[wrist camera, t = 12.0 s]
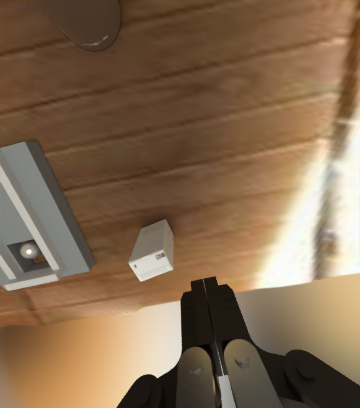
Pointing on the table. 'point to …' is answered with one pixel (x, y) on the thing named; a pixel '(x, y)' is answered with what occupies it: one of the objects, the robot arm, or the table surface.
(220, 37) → the table surface
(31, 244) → the steel ball
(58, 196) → the slate board
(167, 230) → the skincare box
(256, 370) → the robot arm
